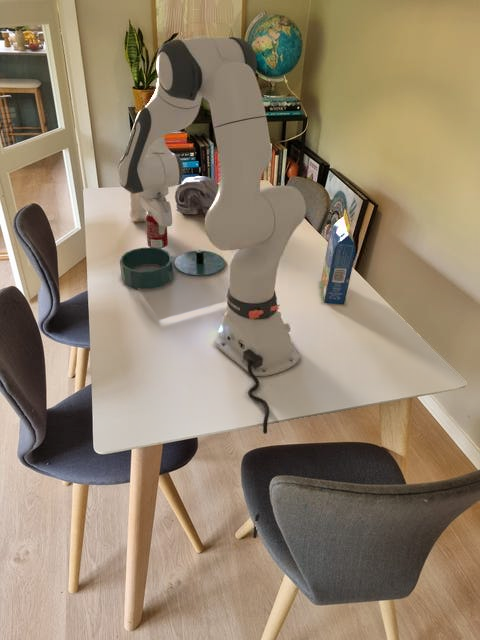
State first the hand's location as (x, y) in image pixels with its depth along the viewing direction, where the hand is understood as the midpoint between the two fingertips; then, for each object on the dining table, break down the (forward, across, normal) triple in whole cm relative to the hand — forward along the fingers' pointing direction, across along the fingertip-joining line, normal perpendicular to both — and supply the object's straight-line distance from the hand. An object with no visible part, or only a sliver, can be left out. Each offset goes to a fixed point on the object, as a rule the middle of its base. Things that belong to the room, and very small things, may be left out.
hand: (156, 228), depth 148 cm
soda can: (+6, 0, 0) cm, 7 cm away
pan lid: (+8, -14, -9) cm, 19 cm away
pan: (+9, -14, +9) cm, 19 cm away
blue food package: (+9, -47, -38) cm, 61 cm away
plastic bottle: (+9, +28, -3) cm, 30 cm away
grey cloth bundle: (+9, +26, -28) cm, 39 cm away
